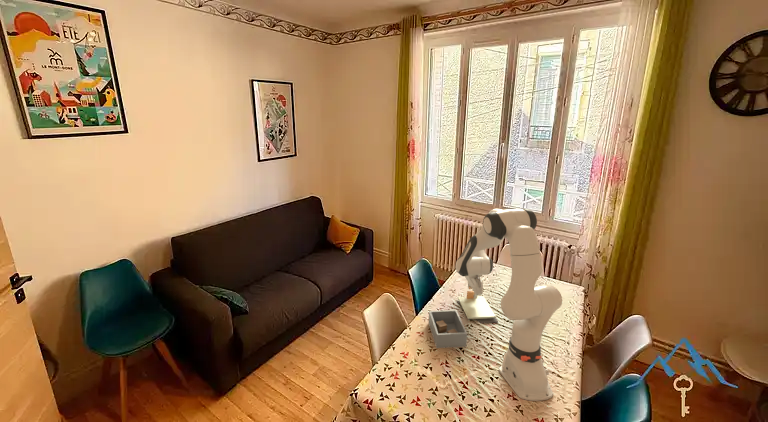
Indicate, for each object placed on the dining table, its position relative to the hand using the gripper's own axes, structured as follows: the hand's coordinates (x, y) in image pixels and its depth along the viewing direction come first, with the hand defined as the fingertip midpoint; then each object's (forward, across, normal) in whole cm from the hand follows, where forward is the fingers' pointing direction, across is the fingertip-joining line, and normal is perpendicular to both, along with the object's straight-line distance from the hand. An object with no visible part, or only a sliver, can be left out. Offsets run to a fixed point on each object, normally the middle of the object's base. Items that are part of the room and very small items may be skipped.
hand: (472, 293), depth 189 cm
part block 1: (+5, -23, +23) cm, 33 cm away
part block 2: (+5, -30, +19) cm, 36 cm away
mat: (+6, -8, 0) cm, 10 cm away
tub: (+6, -26, +21) cm, 34 cm away
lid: (+6, -8, 0) cm, 9 cm away
